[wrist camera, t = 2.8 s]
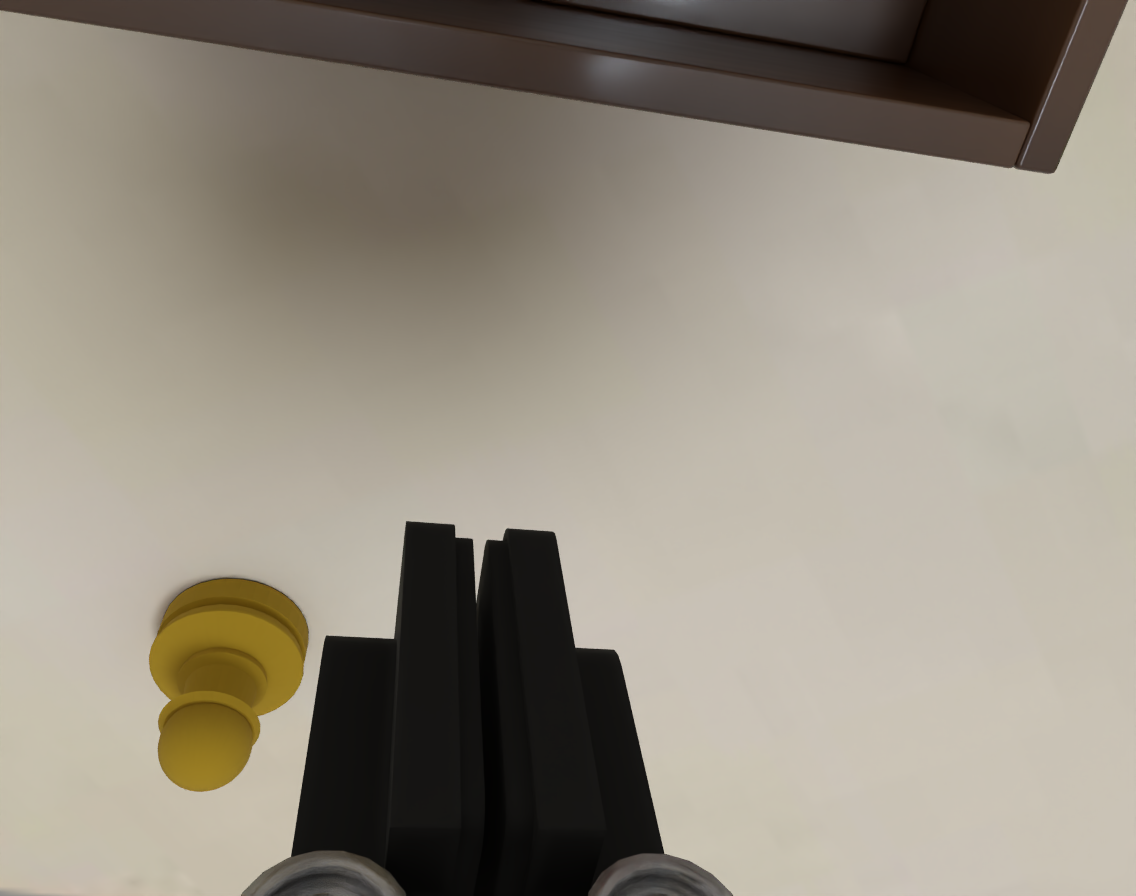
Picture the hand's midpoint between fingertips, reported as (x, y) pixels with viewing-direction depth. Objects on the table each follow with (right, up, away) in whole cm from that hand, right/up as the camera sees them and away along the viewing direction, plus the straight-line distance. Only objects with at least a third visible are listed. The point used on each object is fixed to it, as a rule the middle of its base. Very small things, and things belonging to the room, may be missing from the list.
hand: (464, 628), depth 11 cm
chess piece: (-8, -3, +16) cm, 18 cm away
